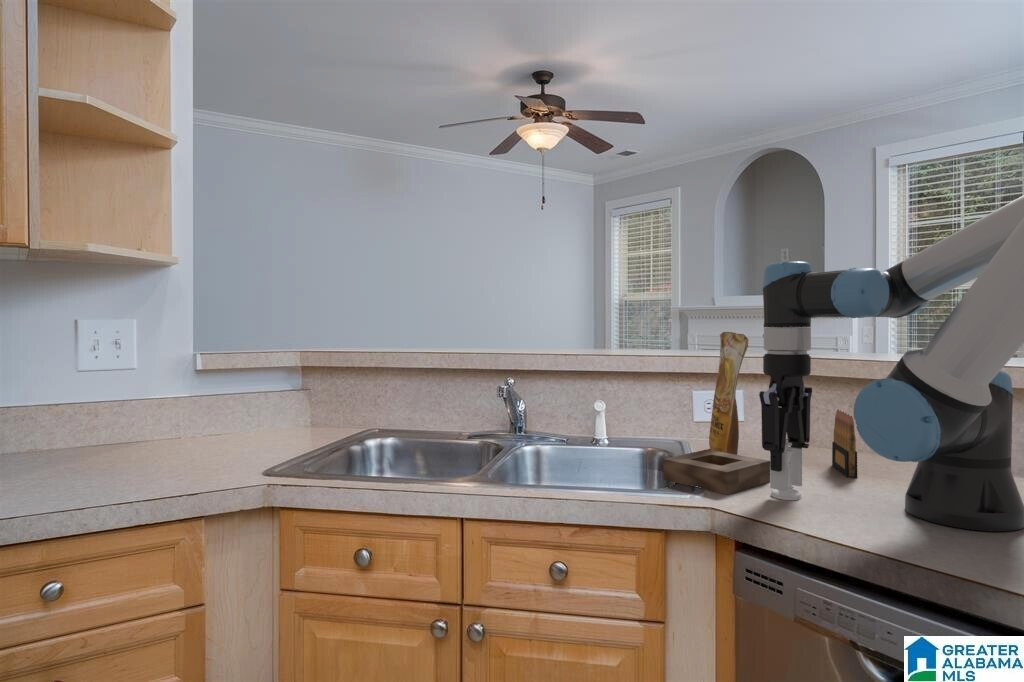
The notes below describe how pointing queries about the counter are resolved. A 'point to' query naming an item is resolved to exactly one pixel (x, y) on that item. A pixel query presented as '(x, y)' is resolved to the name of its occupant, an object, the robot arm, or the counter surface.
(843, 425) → the ammunition clip
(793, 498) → the chess piece
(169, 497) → the counter surface
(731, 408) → the pancake mix bag
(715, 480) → the socket block
